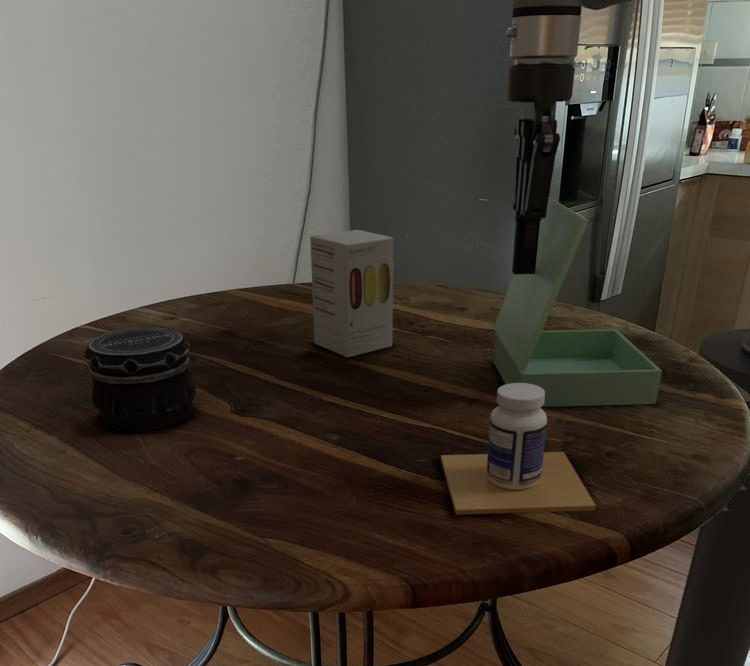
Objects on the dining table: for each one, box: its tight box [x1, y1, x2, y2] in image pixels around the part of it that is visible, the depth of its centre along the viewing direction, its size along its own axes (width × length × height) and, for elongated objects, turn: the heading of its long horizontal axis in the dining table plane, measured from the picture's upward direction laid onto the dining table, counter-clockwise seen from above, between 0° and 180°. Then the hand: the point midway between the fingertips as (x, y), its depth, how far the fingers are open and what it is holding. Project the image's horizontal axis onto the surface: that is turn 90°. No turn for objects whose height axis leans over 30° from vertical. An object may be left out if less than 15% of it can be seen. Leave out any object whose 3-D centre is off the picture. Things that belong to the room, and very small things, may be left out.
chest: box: [492, 328, 663, 408], centre depth 102 cm, size 18×18×5 cm
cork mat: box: [440, 451, 597, 516], centre depth 78 cm, size 14×12×1 cm
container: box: [83, 326, 197, 433], centre depth 92 cm, size 13×13×10 cm
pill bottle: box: [487, 383, 548, 490], centre depth 75 cm, size 6×6×10 cm
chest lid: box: [493, 197, 590, 371], centre depth 96 cm, size 19×18×1 cm
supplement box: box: [309, 229, 394, 358], centre depth 114 cm, size 10×9×17 cm
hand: (523, 272), depth 96 cm, fingers closed
